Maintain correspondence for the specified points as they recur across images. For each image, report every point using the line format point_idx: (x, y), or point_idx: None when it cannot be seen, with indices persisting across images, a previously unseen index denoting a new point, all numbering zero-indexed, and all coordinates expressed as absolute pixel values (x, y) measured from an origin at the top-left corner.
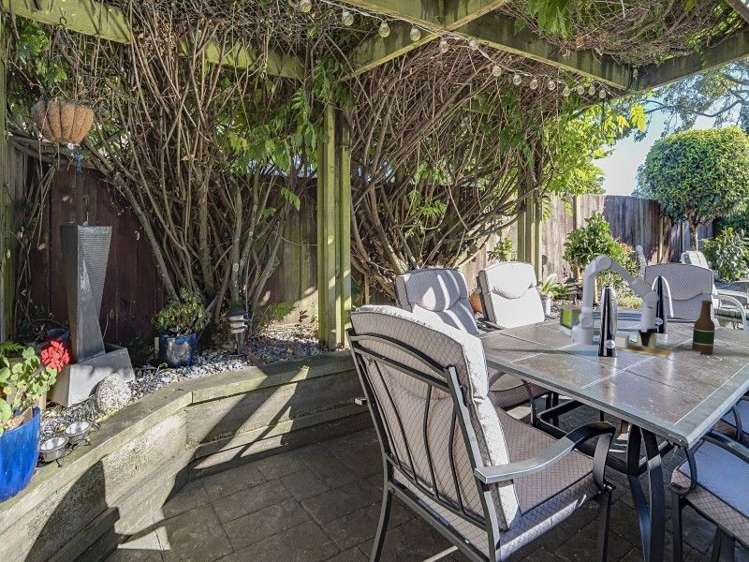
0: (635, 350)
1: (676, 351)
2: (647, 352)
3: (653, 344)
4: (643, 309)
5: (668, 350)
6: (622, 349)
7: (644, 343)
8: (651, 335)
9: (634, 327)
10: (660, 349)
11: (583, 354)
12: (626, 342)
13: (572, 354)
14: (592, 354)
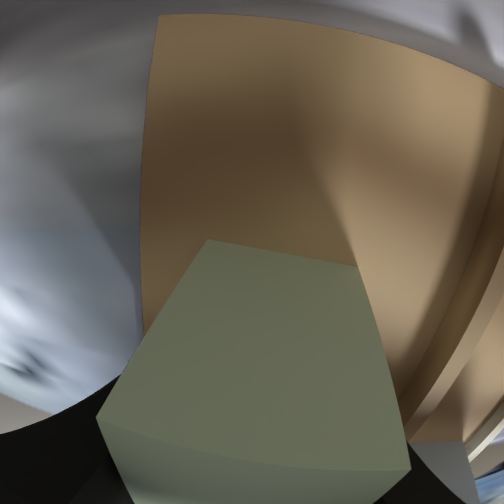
0: (447, 405)
1: (104, 6)
2: (501, 321)
3: (372, 323)
4: None
5: (262, 61)
6: (472, 456)
7: None
8: (366, 501)
9: None
10: (262, 174)
11: (491, 490)
12: (475, 494)
13: (491, 499)
14: (491, 481)
